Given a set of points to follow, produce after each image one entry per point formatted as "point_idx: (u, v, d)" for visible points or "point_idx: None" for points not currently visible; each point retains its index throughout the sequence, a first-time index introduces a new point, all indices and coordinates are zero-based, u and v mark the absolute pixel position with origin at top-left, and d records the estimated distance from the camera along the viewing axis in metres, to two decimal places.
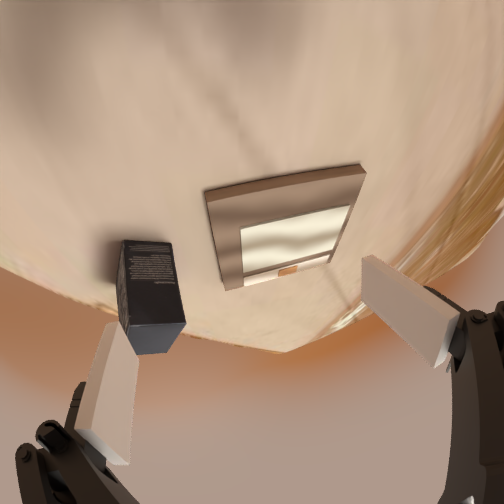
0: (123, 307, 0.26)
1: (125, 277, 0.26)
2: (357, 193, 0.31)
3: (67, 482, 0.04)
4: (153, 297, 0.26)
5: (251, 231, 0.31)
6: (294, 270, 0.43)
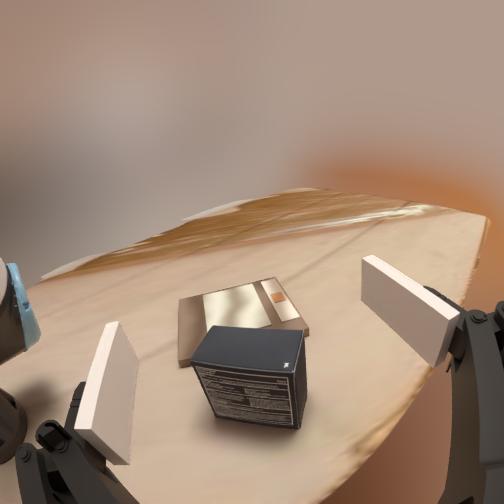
0: (219, 385, 0.25)
1: (205, 393, 0.27)
2: (195, 296, 0.53)
3: (67, 482, 0.04)
4: None
5: None
6: (277, 293, 0.49)
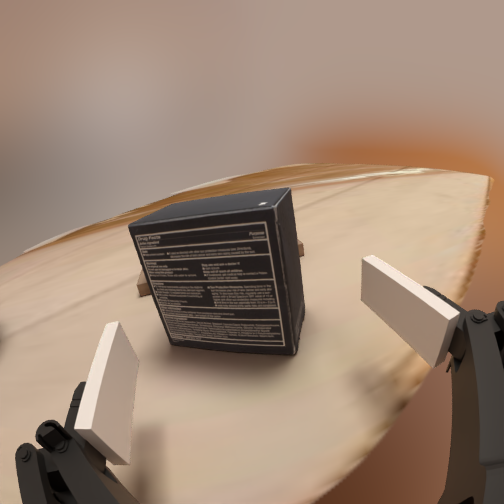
0: (168, 267, 0.18)
1: (152, 294, 0.19)
2: None
3: (67, 482, 0.04)
4: None
5: None
6: None
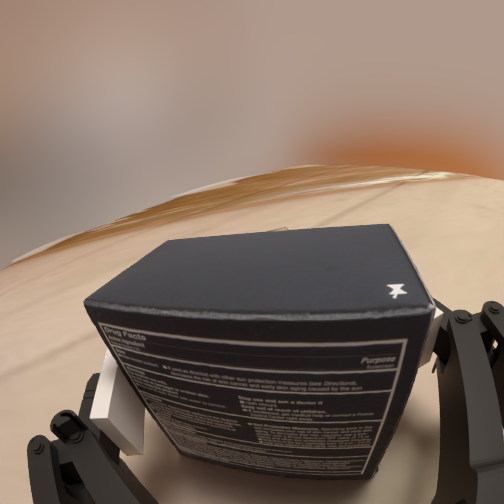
0: (167, 385, 0.08)
1: (144, 403, 0.10)
2: None
3: (80, 473, 0.04)
4: None
5: None
6: None
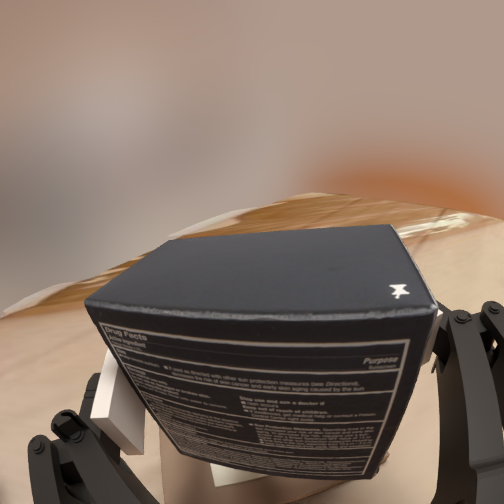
0: (168, 385, 0.08)
1: (144, 403, 0.10)
2: None
3: (81, 472, 0.05)
4: None
5: (221, 474, 0.18)
6: None
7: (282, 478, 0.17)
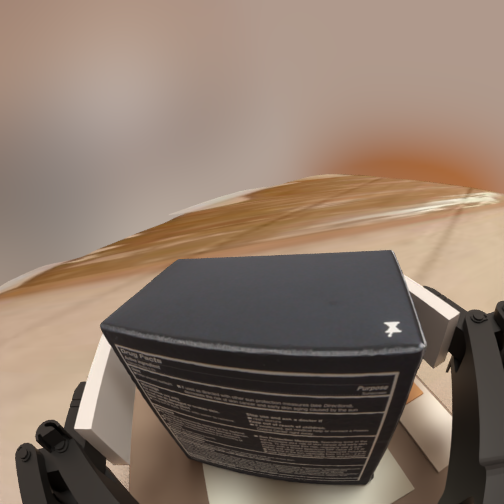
0: (180, 401, 0.09)
1: (156, 414, 0.11)
2: None
3: (67, 482, 0.04)
4: None
5: None
6: None
7: None
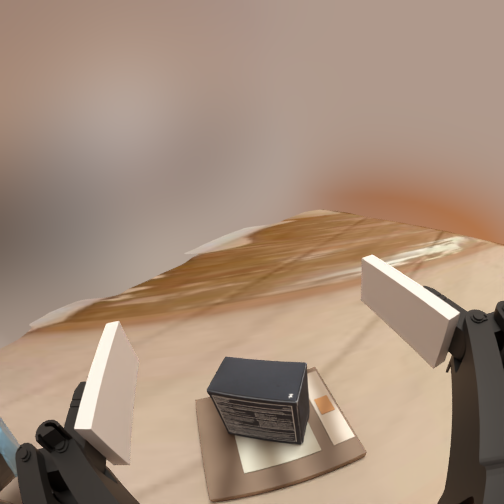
0: (233, 410, 0.28)
1: (219, 415, 0.30)
2: None
3: (67, 482, 0.04)
4: None
5: (248, 464, 0.26)
6: (322, 398, 0.34)
7: (291, 466, 0.25)
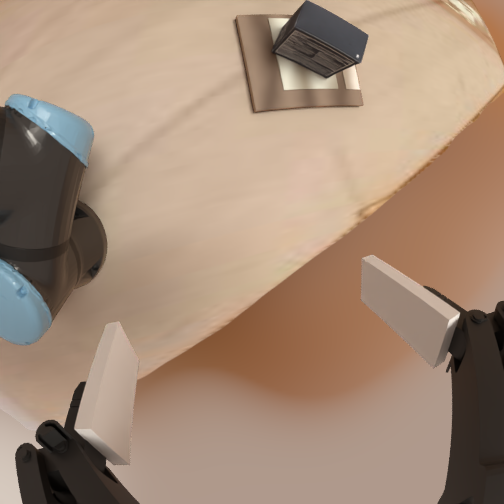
0: (302, 43, 0.28)
1: (281, 40, 0.30)
2: (257, 15, 0.31)
3: (67, 482, 0.04)
4: (292, 21, 0.27)
5: (287, 82, 0.37)
6: None
7: (316, 92, 0.38)
